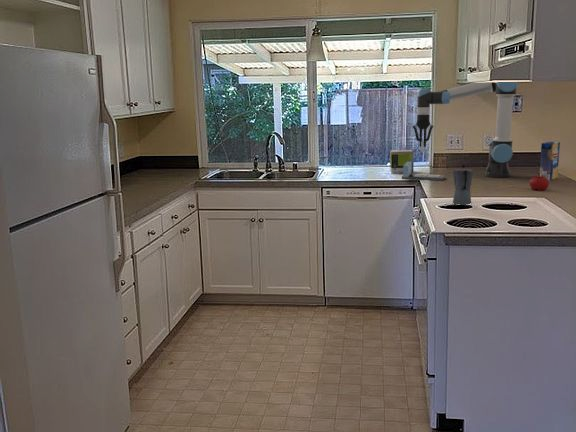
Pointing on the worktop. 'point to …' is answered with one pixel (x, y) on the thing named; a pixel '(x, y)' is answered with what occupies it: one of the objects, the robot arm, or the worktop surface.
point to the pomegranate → (539, 182)
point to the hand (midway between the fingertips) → (422, 152)
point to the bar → (407, 168)
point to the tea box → (400, 160)
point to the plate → (425, 177)
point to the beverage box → (549, 160)
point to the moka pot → (462, 185)
